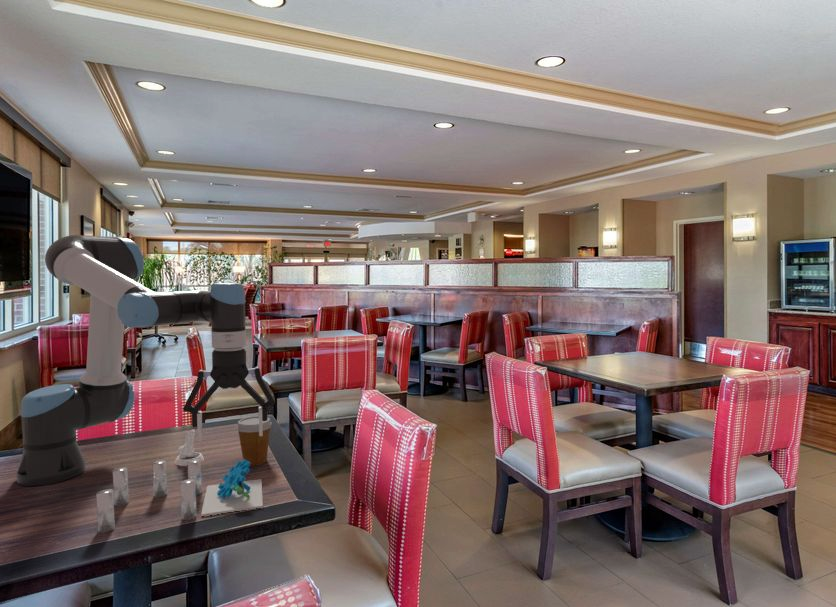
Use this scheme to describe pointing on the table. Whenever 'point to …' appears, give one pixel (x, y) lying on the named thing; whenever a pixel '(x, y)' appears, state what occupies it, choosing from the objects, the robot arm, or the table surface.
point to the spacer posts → (121, 494)
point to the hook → (188, 450)
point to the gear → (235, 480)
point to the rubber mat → (232, 499)
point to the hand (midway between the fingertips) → (231, 437)
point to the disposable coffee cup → (254, 439)
